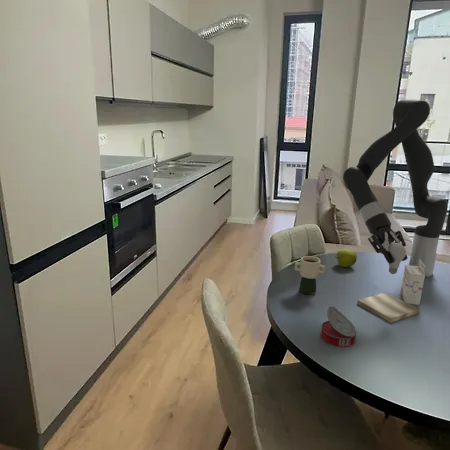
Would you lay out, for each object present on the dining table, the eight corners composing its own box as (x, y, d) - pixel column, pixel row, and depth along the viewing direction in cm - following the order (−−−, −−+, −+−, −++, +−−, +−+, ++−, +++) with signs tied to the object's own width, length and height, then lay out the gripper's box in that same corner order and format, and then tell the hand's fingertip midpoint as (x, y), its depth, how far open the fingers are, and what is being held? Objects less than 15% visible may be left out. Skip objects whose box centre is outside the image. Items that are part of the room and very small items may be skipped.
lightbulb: (401, 271, 130) (406, 241, 127) (402, 278, 124) (408, 247, 121) (382, 269, 132) (387, 239, 129) (382, 275, 126) (387, 244, 123)
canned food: (335, 341, 119) (349, 313, 119) (355, 357, 109) (371, 326, 109) (307, 330, 115) (322, 301, 115) (326, 346, 105) (342, 314, 105)
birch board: (384, 296, 140) (385, 292, 140) (418, 313, 128) (419, 309, 128) (357, 303, 134) (357, 299, 133) (390, 322, 122) (391, 318, 122)
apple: (331, 263, 171) (333, 246, 169) (350, 263, 172) (352, 246, 170) (338, 270, 163) (340, 252, 161) (358, 269, 164) (360, 252, 162)
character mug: (322, 289, 144) (326, 257, 140) (322, 298, 137) (326, 264, 134) (293, 285, 146) (296, 254, 143) (292, 293, 140) (294, 260, 136)
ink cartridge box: (399, 293, 143) (405, 256, 139) (413, 294, 142) (420, 258, 138) (405, 303, 135) (411, 265, 131) (420, 305, 134) (427, 266, 130)
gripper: (367, 214, 125) (391, 259, 119) (396, 210, 132) (421, 253, 125) (353, 225, 131) (375, 269, 125) (381, 221, 138) (404, 262, 131)
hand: (398, 261), depth 125 cm, fingers closed on lightbulb, 5 cm apart
